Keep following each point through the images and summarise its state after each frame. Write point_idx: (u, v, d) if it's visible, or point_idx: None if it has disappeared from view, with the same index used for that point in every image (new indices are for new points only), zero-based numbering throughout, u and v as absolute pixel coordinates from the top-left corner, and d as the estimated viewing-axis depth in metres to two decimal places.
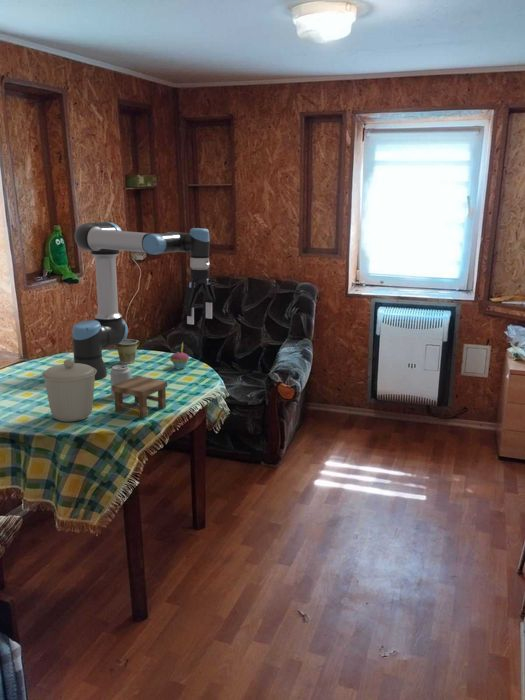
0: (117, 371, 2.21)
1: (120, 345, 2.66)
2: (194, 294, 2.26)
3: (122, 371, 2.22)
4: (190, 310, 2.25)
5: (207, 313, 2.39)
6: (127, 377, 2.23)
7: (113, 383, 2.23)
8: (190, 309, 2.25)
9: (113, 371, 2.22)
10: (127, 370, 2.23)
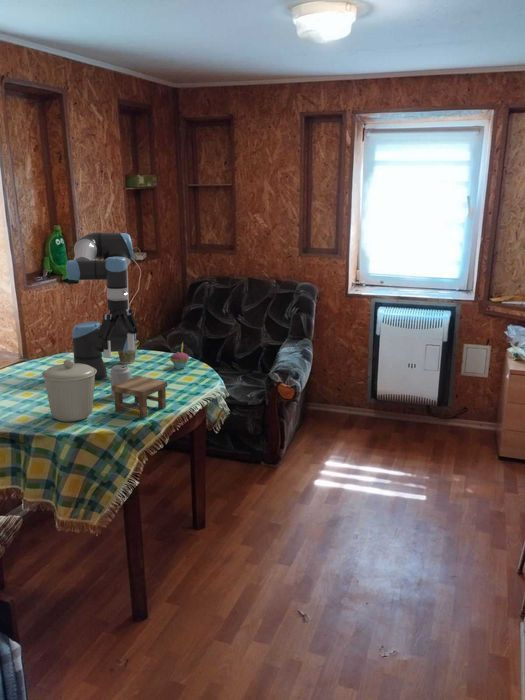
0: (117, 371, 2.21)
1: None
2: (111, 326, 2.15)
3: (122, 371, 2.22)
4: (106, 343, 2.14)
5: (129, 344, 2.28)
6: (127, 377, 2.23)
7: (113, 383, 2.23)
8: (106, 342, 2.14)
9: (113, 371, 2.22)
10: (127, 370, 2.23)
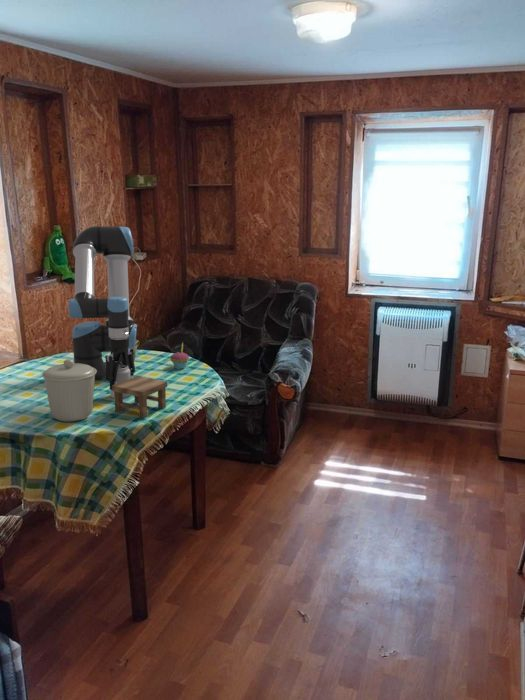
0: (117, 371, 2.21)
1: None
2: (115, 366, 2.20)
3: (122, 371, 2.22)
4: (113, 384, 2.21)
5: None
6: (127, 377, 2.23)
7: None
8: (113, 383, 2.21)
9: None
10: (127, 370, 2.23)
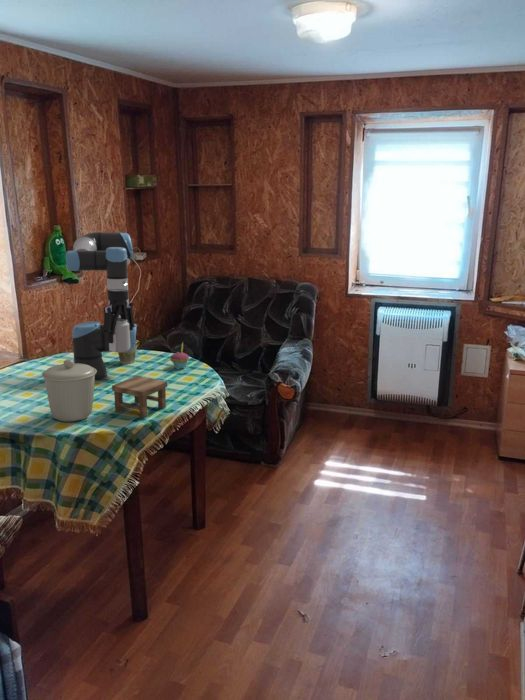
0: (116, 324, 2.16)
1: None
2: (113, 319, 2.15)
3: (121, 324, 2.16)
4: (111, 337, 2.16)
5: None
6: (126, 330, 2.18)
7: None
8: (111, 336, 2.15)
9: None
10: (126, 323, 2.18)
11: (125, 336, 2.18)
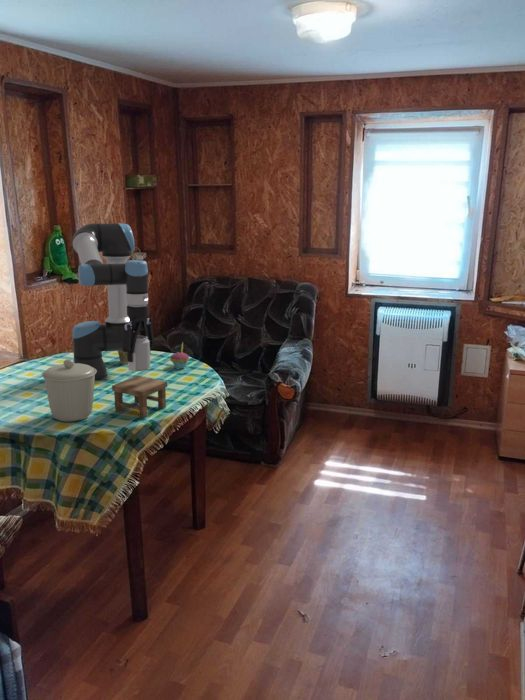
0: None
1: None
2: (133, 336, 2.03)
3: (141, 341, 2.04)
4: (131, 355, 2.03)
5: None
6: (146, 348, 2.05)
7: None
8: (131, 354, 2.03)
9: None
10: (146, 340, 2.05)
11: (145, 354, 2.05)
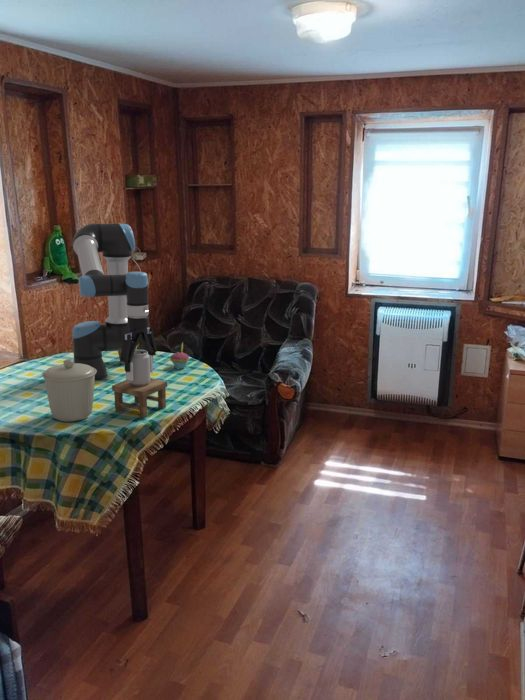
0: (136, 356, 2.05)
1: None
2: (132, 346, 2.03)
3: (141, 356, 2.05)
4: (128, 365, 2.02)
5: None
6: (147, 363, 2.07)
7: None
8: (128, 364, 2.02)
9: None
10: (147, 355, 2.07)
11: (145, 369, 2.07)
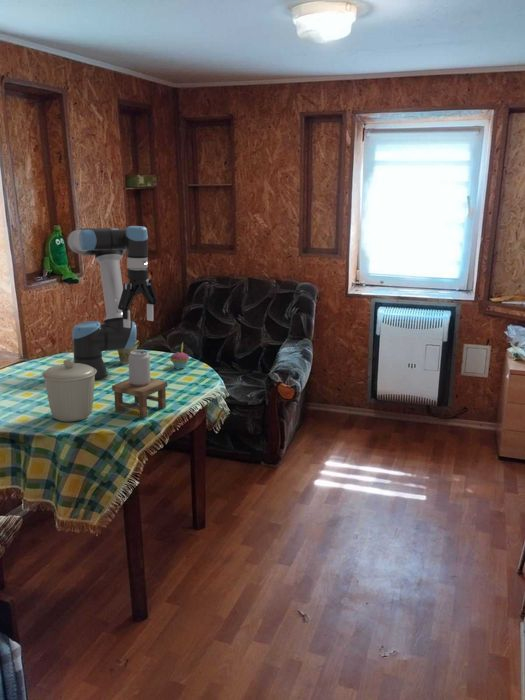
0: (136, 356, 2.05)
1: None
2: (131, 296, 2.14)
3: (141, 356, 2.05)
4: (126, 313, 2.13)
5: (148, 315, 2.27)
6: (147, 363, 2.07)
7: (131, 369, 2.06)
8: (126, 312, 2.13)
9: (132, 356, 2.05)
10: (147, 355, 2.07)
11: (145, 369, 2.07)
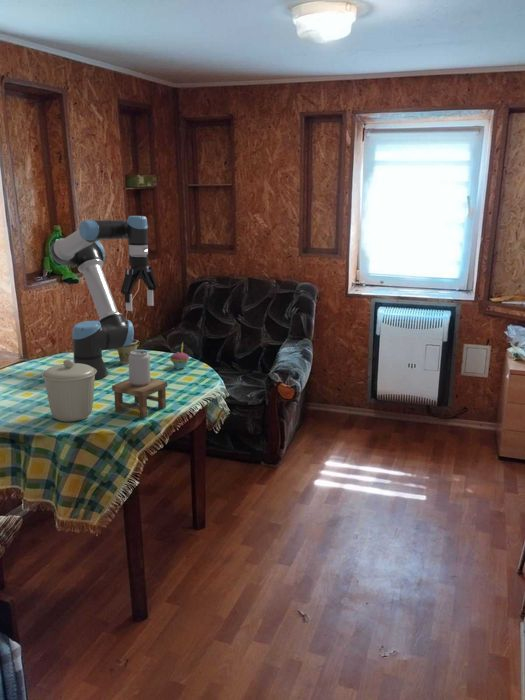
0: (136, 356, 2.05)
1: None
2: (132, 281, 2.29)
3: (141, 356, 2.05)
4: (128, 297, 2.28)
5: (148, 300, 2.42)
6: (147, 363, 2.07)
7: (131, 369, 2.06)
8: (128, 296, 2.28)
9: (132, 356, 2.05)
10: (146, 355, 2.07)
11: (145, 369, 2.07)
